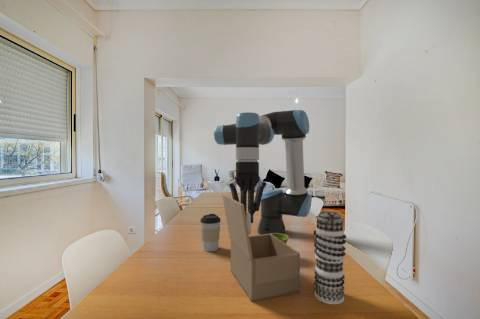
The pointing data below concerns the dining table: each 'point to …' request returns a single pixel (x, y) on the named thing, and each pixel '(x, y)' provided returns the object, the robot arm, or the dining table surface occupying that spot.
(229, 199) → the flap
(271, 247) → the carton
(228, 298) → the dining table surface
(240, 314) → the dining table surface
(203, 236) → the coffee cup
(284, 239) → the plant pot
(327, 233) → the decorative candle
